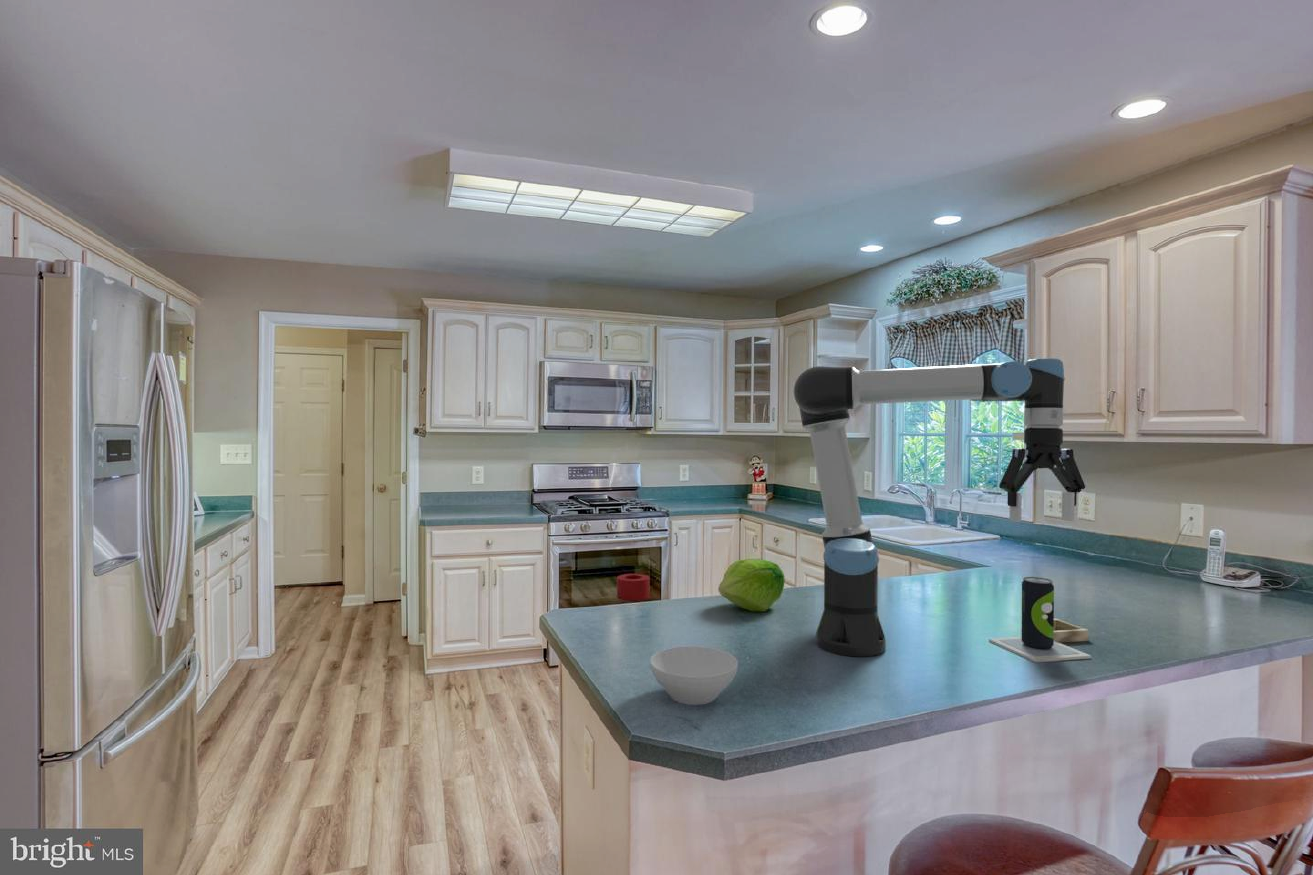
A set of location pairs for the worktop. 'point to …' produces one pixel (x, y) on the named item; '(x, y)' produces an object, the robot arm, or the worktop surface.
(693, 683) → the bowl
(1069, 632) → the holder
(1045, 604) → the beverage can
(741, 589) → the lettuce
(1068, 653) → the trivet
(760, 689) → the worktop surface
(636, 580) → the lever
